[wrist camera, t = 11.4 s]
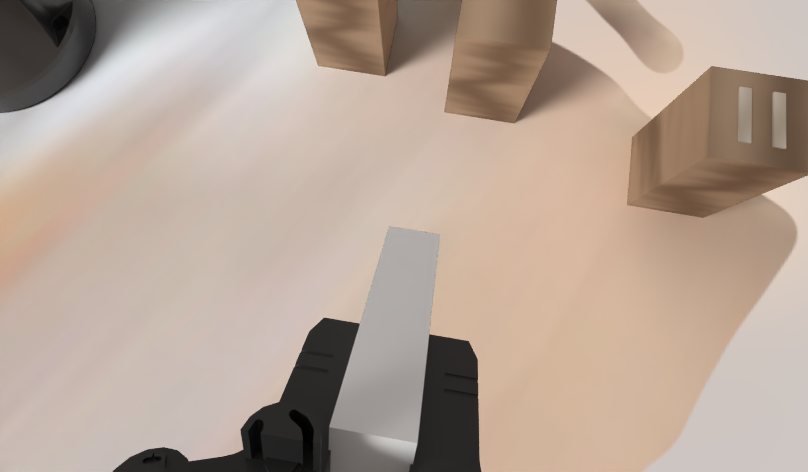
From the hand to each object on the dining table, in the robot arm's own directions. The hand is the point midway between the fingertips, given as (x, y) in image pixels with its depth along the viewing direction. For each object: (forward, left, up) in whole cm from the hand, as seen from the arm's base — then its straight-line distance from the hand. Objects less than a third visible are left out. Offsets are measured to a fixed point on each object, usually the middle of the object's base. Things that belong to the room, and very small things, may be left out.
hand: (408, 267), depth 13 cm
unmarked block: (-11, +17, -21) cm, 29 cm away
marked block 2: (-21, +11, -21) cm, 32 cm away
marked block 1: (+5, +23, -21) cm, 32 cm away
